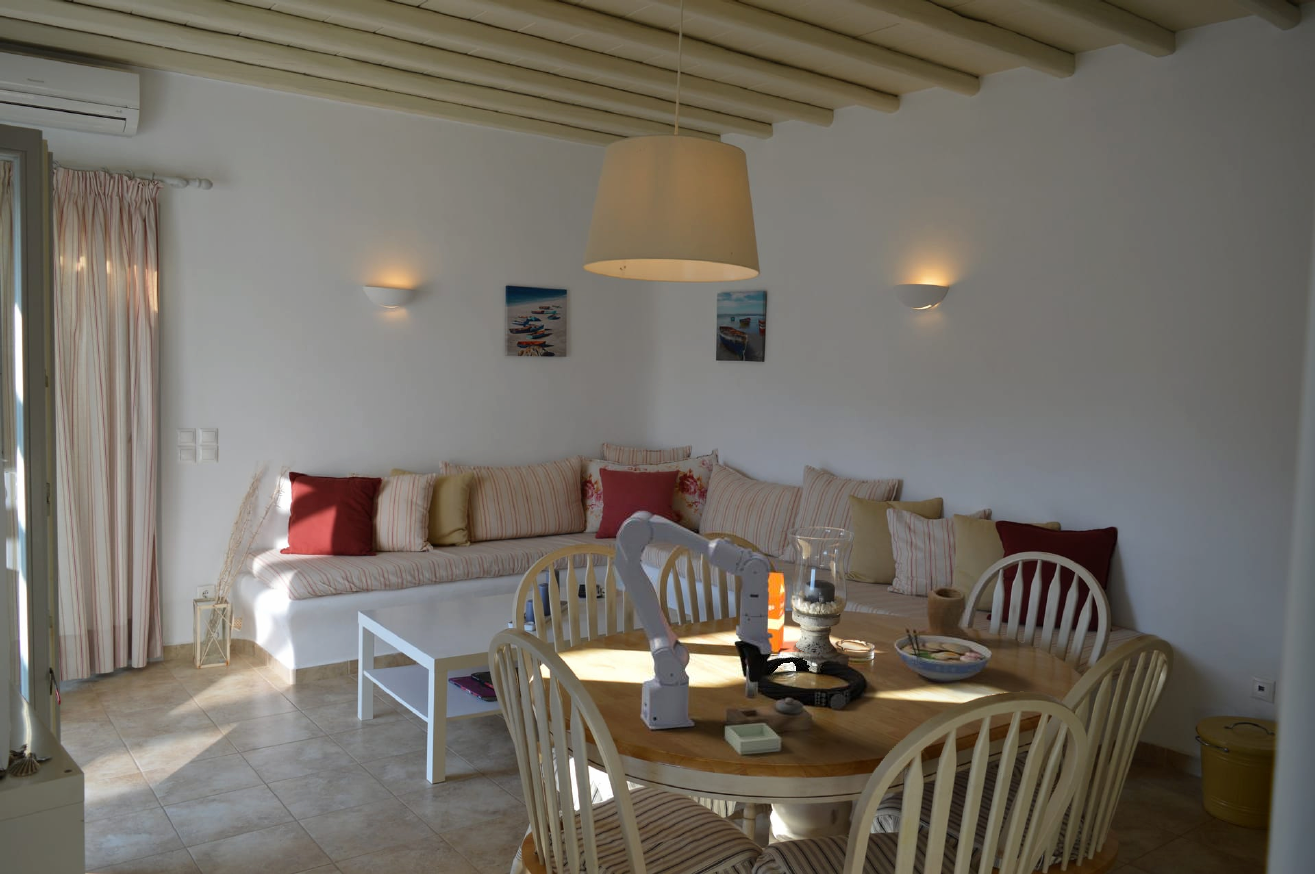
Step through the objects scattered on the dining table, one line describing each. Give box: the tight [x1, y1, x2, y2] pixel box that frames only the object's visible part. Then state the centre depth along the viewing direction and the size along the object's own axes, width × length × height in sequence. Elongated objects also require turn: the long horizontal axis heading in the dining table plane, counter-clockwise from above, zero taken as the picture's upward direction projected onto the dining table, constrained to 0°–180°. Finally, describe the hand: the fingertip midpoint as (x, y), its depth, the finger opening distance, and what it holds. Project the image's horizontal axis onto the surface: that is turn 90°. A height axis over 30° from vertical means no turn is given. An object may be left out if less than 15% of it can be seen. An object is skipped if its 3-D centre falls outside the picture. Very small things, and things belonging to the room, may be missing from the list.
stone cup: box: [916, 586, 969, 640], centre depth 270 cm, size 15×12×15 cm
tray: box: [724, 723, 782, 755], centre depth 193 cm, size 8×8×2 cm
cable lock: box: [758, 656, 868, 711], centre depth 229 cm, size 28×4×30 cm
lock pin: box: [745, 658, 759, 699], centre depth 201 cm, size 3×3×8 cm
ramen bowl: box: [893, 628, 993, 683], centre depth 239 cm, size 25×23×8 cm
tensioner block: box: [725, 698, 813, 733], centre depth 203 cm, size 16×7×5 cm, turn 106°
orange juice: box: [768, 571, 786, 653], centre depth 262 cm, size 8×9×20 cm
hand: (751, 678), depth 202 cm, fingers closed on lock pin, 3 cm apart
